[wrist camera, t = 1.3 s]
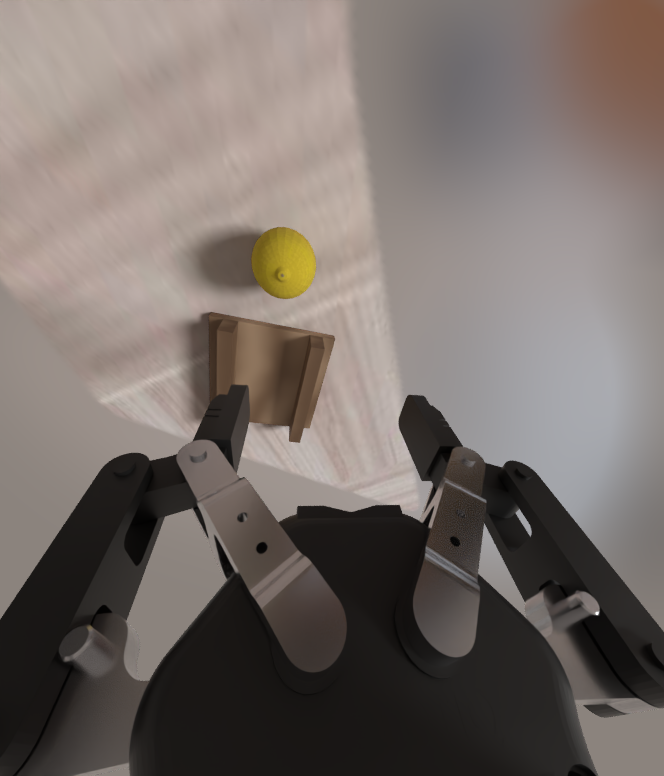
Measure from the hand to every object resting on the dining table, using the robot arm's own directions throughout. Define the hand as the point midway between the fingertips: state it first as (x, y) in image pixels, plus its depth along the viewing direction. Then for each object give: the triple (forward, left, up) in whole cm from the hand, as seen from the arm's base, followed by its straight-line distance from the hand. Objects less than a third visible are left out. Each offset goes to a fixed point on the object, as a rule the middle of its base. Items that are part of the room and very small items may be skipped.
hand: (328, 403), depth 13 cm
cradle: (-3, -12, -19) cm, 23 cm away
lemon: (-3, +3, -19) cm, 20 cm away
